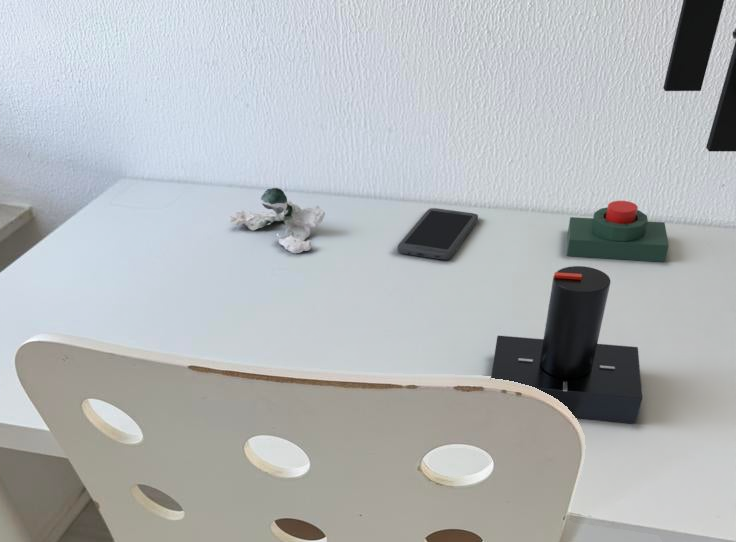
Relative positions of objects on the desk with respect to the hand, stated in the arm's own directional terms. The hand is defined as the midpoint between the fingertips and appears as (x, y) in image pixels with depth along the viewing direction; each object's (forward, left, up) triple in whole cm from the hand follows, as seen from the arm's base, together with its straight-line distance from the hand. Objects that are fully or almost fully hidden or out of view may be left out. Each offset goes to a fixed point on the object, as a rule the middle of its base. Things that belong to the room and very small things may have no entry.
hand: (702, 117), depth 55 cm
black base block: (+6, -3, -27) cm, 28 cm away
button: (0, -37, -23) cm, 44 cm away
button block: (0, -37, -27) cm, 46 cm away
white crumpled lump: (+45, -35, -27) cm, 63 cm away
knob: (+6, -3, -24) cm, 25 cm away
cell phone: (+23, -37, -27) cm, 51 cm away
